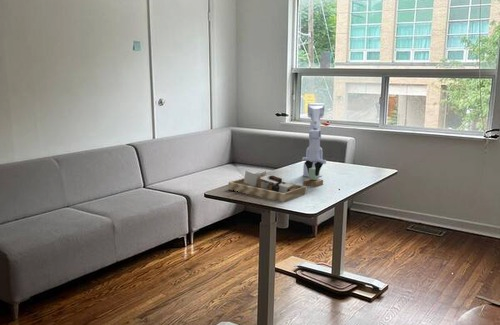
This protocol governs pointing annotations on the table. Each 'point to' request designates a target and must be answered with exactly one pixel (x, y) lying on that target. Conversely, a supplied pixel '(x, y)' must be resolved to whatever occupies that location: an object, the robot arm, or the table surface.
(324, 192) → the table surface
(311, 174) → the green block
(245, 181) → the toy
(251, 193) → the tray
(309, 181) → the walnut plinth
